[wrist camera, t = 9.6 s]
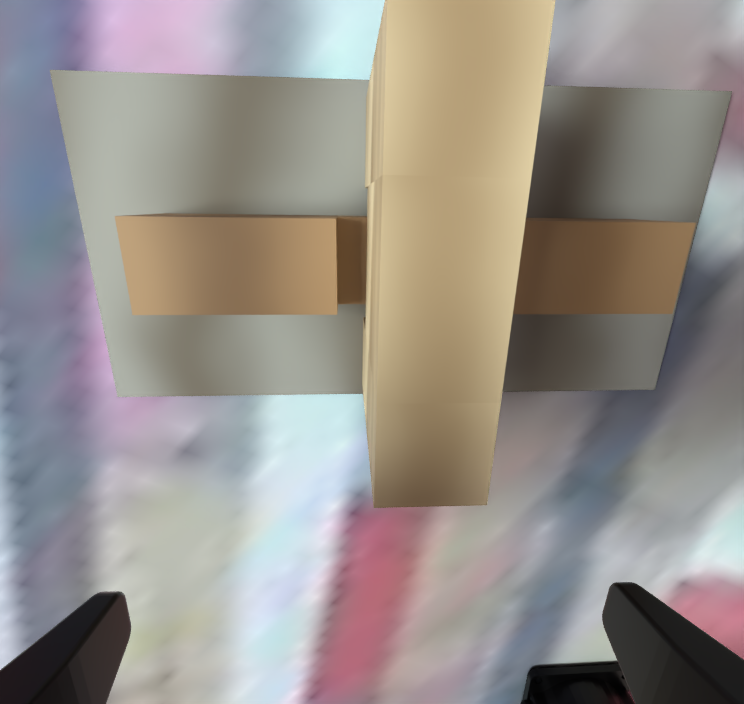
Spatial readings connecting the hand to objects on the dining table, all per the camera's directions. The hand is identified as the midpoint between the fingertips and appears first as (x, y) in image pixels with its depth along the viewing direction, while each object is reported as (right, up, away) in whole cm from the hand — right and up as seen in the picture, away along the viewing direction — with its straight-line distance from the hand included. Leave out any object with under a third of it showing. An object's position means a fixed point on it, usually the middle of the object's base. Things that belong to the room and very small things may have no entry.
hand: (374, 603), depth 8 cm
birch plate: (+1, +8, +9) cm, 12 cm away
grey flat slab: (+1, +9, +9) cm, 13 cm away
